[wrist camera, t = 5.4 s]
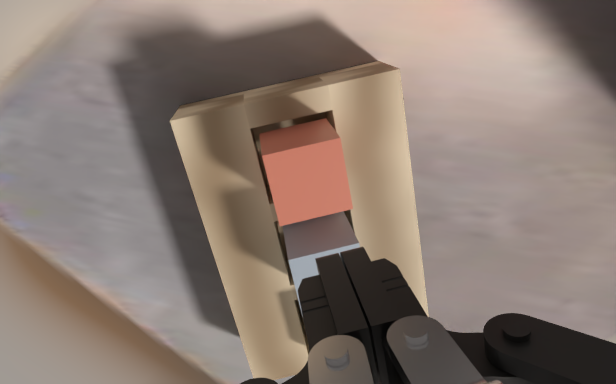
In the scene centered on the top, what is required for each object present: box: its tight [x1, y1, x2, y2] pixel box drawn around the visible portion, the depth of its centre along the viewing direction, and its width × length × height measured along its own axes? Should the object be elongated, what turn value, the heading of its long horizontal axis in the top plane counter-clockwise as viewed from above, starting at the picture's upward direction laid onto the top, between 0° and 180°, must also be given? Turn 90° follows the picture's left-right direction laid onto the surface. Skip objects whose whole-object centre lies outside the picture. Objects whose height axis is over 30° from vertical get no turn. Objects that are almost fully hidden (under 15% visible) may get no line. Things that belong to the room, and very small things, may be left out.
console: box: [170, 61, 429, 380], centre depth 28 cm, size 12×18×4 cm, turn 11°
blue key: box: [282, 211, 360, 317], centre depth 25 cm, size 4×4×4 cm
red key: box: [259, 118, 353, 226], centre depth 23 cm, size 4×4×4 cm
